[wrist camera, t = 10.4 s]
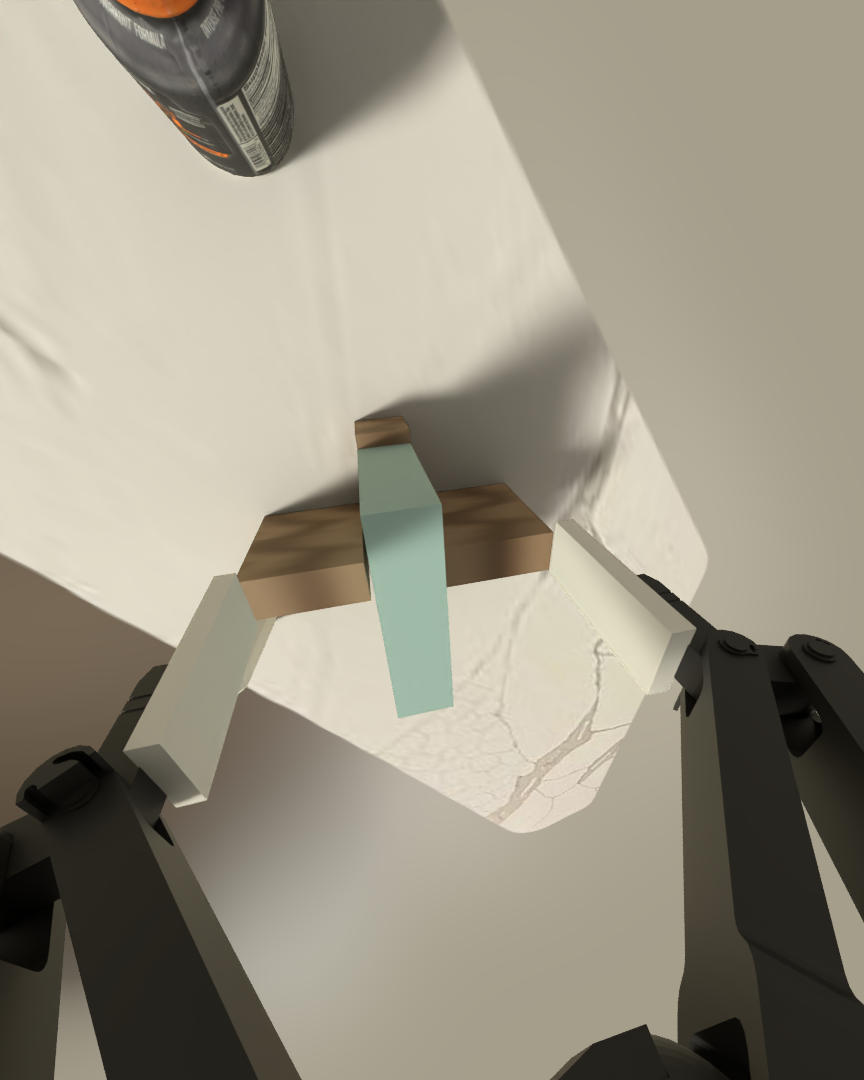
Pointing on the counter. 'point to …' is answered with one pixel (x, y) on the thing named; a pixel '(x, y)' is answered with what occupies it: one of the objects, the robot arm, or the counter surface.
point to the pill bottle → (207, 73)
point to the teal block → (407, 575)
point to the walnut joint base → (340, 551)
